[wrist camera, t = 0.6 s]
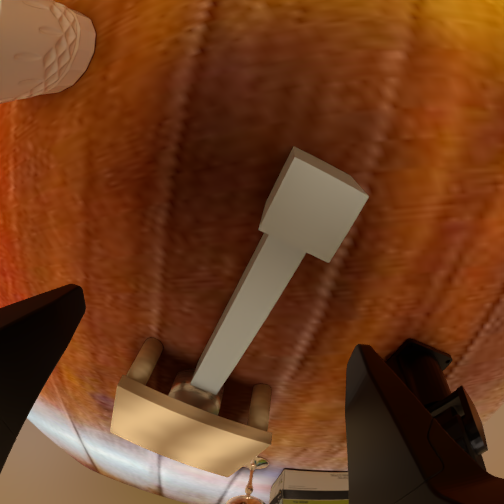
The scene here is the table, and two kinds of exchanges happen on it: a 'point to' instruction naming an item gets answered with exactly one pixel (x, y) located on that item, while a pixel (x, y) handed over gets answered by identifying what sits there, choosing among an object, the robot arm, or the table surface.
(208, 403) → the steel puck
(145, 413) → the hinoki shelf
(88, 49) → the white cup
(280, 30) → the table surface
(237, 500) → the wineglass
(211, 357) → the gray hammer
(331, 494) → the tea box
